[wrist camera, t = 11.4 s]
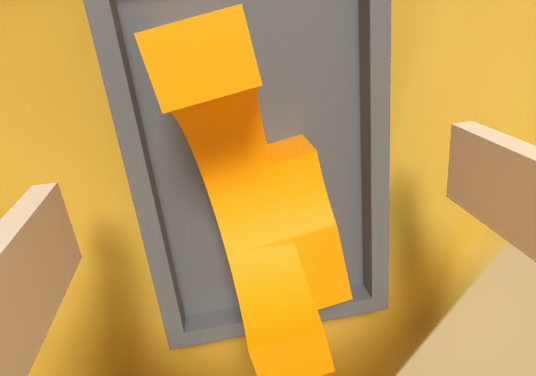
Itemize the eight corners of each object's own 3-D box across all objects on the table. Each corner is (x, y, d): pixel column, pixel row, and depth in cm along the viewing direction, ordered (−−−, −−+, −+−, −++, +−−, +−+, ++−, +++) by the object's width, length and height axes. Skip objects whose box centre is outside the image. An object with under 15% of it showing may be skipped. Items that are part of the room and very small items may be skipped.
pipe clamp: (330, 258, 21) (383, 355, 15) (244, 284, 20) (263, 393, 15) (270, -5, 16) (313, -17, 10) (158, 26, 16) (134, 33, 10)
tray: (84, -49, 15) (68, -58, 13) (370, -76, 16) (391, -87, 14) (172, 321, 22) (170, 349, 20) (372, 285, 23) (387, 308, 21)
